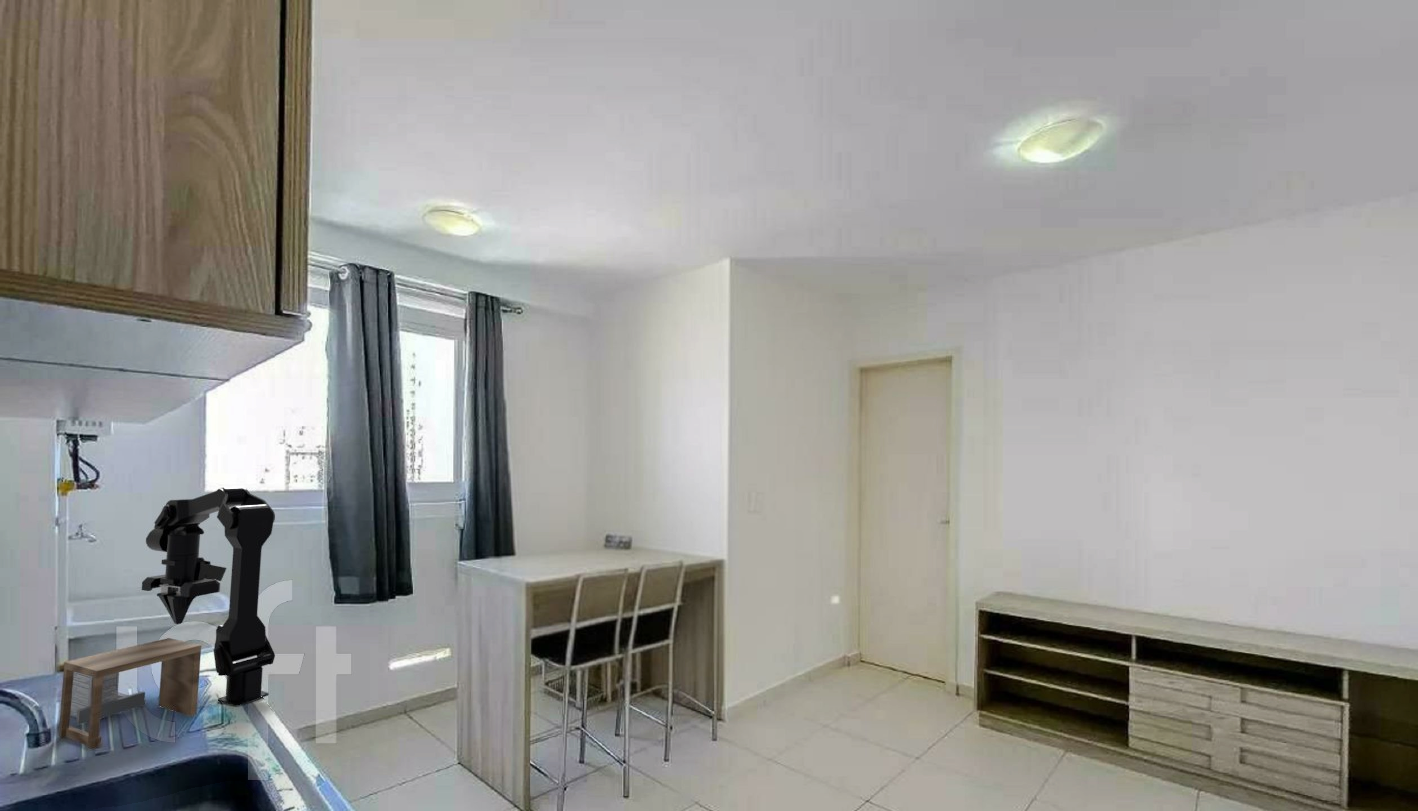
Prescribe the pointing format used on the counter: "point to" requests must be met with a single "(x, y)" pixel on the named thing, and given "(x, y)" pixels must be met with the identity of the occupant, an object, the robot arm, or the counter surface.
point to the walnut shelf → (175, 668)
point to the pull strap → (113, 706)
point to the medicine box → (84, 690)
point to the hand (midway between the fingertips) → (178, 623)
